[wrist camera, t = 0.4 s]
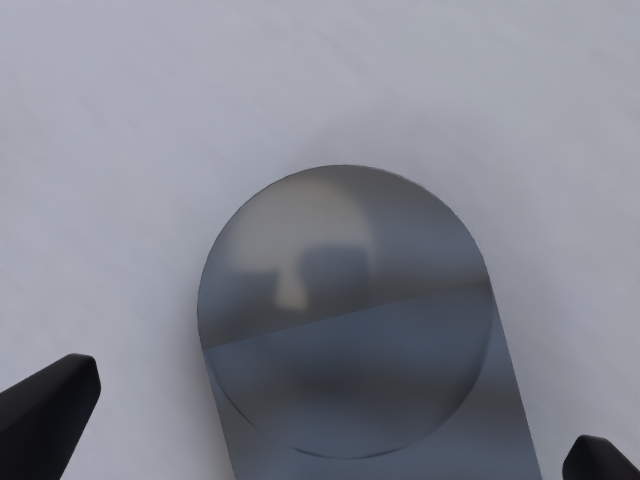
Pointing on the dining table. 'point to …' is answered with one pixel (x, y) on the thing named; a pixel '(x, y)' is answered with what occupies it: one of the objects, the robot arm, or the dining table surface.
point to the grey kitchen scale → (358, 337)
